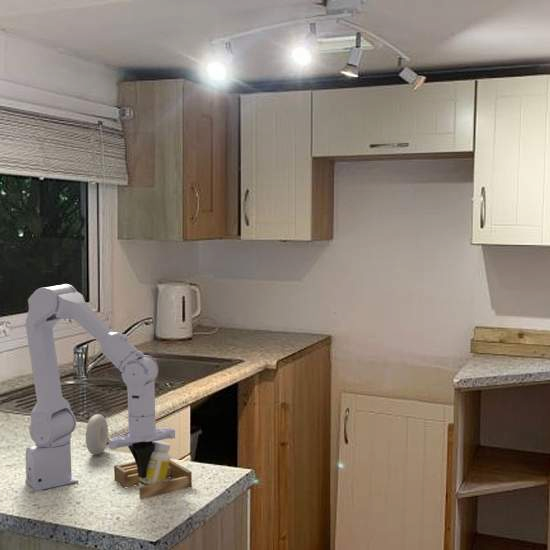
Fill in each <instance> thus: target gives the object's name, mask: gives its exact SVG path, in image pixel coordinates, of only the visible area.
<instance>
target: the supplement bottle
mask: <svg viewBox="0 0 550 550" xmlns="http://www.w3.org/2000/svg"><path fill="white" fill-rule="evenodd" d="M152 443H153V444H154V445H155V449H154V451H153V453H152V455H151V457H150V459H149V462H148V465H147V469H146V478H141V477H140V480H139V485H138V486H139V487H142V486H146V485H150V484H155V483H159V482H163V481H166V479H165V478H166V474H167V470H168V466H169V462H170V460H171V456H170V454H168V452H169V451H170V449H171V444H170V443H168V442H166V441H162V440H158V441H153V442H152Z"/></svg>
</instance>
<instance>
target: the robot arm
mask: <svg viewBox="0 0 550 550" xmlns="http://www.w3.org/2000/svg"><path fill="white" fill-rule="evenodd" d="M27 303H28V304H27V305H28V311H27V315H26V319H25V330H26V336H27V337H26V338H27V345H28V350H29V357H30V362H31V363H30V364H31V371H32V376H33V383H34V390H35V391H34V392H35V397H36V403H35V405H34V407H33V408H32V410H31V412H30V419H31V420H30V425H29V436H30V439H31V440H32V442H33V443H34V444H33V445H31V446H28V447H26V450H25V479H24V480H25V482H26V483H27V484H28V485H29V486H30V487H32V488H33V489H34V490H35V491H42V490H47V489H52V488H56V487H61V486H65V485H69V484H73V483H78V482H79V479H78V478H77V477H75V476H74V475H73V473H72V448H71V439H72V433H73V432H74V431H75V429H76V427H77V419H76V416H75V414H74V413H73V411H72V409H71V402H69V401H68V400H67V399H66V398H65V397H63V392H62V385H61V384H62V383H61V377H60V370H59V365H58V358H57V352H56V344H55V338H54V331H53V328H54V327H55V326H56V325H57V323H58V322H59V321H60V320H61V319H67V320H73V321H75V322H76V323H77V324H78V325H79V326H80V327H81V328H83V330H85V331H86V332H87V333H88V334H89V335H90V336H92V337H93V338H94V339H95V340H96V341H97V342H98V343H99V345H100V346H99V348H100V349H99V350H100V353H102V354H103V355H104V356H105V357H106V358H107V359H108V360H109V361H110V362H111V363H112V364H113V365H114V366H115V367H116V368H117V369H118V370H119V371H120V373H121V378H122V380H123V382H124V384H125V385H126V389H127V390H126V392H127V412H128V413H127V417H128V418H127V421H128V433H126V434H122V435H119V436H115V437H111V438H108V449H110V450H112V451H113V450H117V449H118V448H124V447H125V448H126V447H128V450H129V451H130V453H131V454H132V456H133V459H134V461H136V464H137V467H138V476H139V477H141V478H146V469H147V465H148V462H149V459H150V457H151V455H152V453H153V451H154V449H155V445H154V444H153V443H152V442H153V441H163V440H170V439H171V440H172V439H176V430H175V429H174V428H172V427H168V428H160V429H158V428H157V427H156V423H157V422H156V393H155V390H156V388H155V380H156V378H157V377H158V374H159V372H160V371H159V365H158V363H157V361H156V360H155V358H154V357H153V356H151V355H147V354H145V353H144V352H143V351H142V350H139V349H138V348H137V347H135V345H134V344H133V343H132V342H130V341H129V339H130V337H129V336H128V335H127V334H126V333H123V334H122V333H121V332H119V331H116V332H115V331H112V330H111V329H110V328H109V327H108V326H107V324H105V322H104V321H103V320H102V319H101V318H100V317H99V315H97V314H96V312H95V311H94V310H93V309H92V308H91V306H89V304H88V303H87V302H86V301H85V298H84V295H83V294H82V293H80V292H79V291H77V289H76V288H75V287H74V286H73V285H71V284H68V283H62V284H59V285H53V286H47V287H46V286H45V287H39V288H37V289H36V290H35V291H34V292H33V293H32V294H31V295H30V296H29V298H27Z"/></svg>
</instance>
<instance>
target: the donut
mask: <svg viewBox="0 0 550 550" xmlns="http://www.w3.org/2000/svg"><path fill="white" fill-rule="evenodd" d="M108 441H109V427H108V423H107V419H106V418H105V417H104V416H103V415H102V414H100V413H98V414H94V415H92V416H91V417H90V418H89V420H88V422H87V425H86V429H85V445H86V448H87V450H88V452H89V453H90V454H92V455H94V456H99V455H101V454H102V453H103V452H104V451H105V450H106V447H107V444H108Z"/></svg>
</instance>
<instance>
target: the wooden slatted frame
mask: <svg viewBox="0 0 550 550" xmlns="http://www.w3.org/2000/svg"><path fill="white" fill-rule="evenodd" d="M113 471H114V474H113V475H114V479H113V480H114V481H115V482H116V481H117V482H118V483H117V482H116V483H117V484H119V483H120V484H121V485H120V484H119V485H120V486H122V487H123V486H124V487H129V488H131V487H130V486H133V487H135V486H134V485H137V486H139V487H138V490H139V491H138V492H139V493H138V495H139V499H140V500H144V498H145V499H148V498H153V497H156V496H161V495H165V494H168V493H169V494H170V493H174V492H177V491H181V490H184V489H190V488H192V487H193V484H192V483H193V480H192V477H193V476H192V471H191V470H189V469H187V468H186V467H184V466H183V465H180V464H179V463H177V462H175V461H173V460H171V459H170V462H169V466H168V470H167V474H166V478H167V479H168V480H165V481H163V482H159V483H155V484H150V485H146V486H142V487H141V486H140V485H139V480H140V477H139V476H138V467H137V464H136V461H135V460H134V461H129V462H126V463H125V462H124V463H120V464H115V465H113ZM169 477H172V479H170V478H169ZM173 478H174V479H173ZM124 487H123V488H124Z"/></svg>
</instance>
